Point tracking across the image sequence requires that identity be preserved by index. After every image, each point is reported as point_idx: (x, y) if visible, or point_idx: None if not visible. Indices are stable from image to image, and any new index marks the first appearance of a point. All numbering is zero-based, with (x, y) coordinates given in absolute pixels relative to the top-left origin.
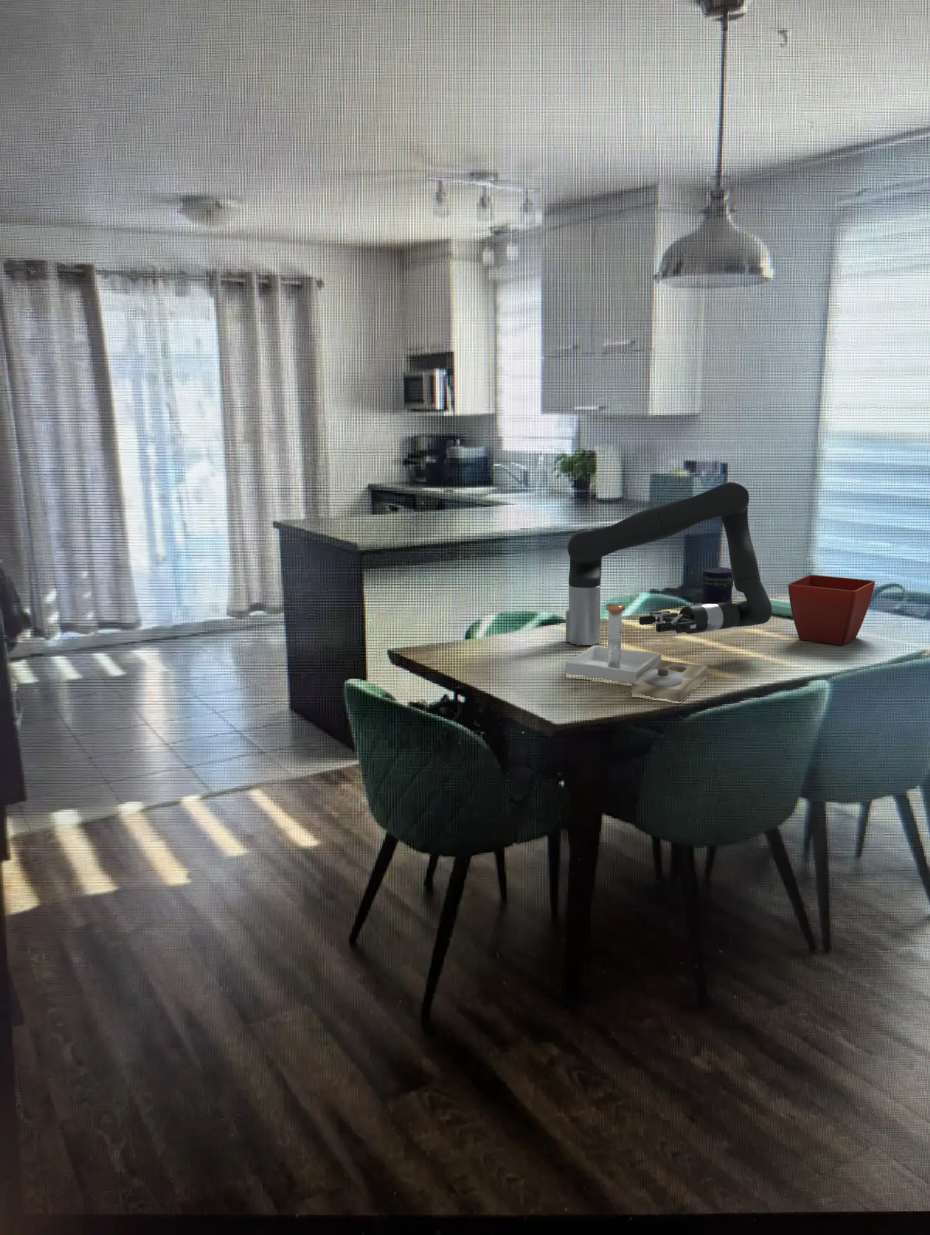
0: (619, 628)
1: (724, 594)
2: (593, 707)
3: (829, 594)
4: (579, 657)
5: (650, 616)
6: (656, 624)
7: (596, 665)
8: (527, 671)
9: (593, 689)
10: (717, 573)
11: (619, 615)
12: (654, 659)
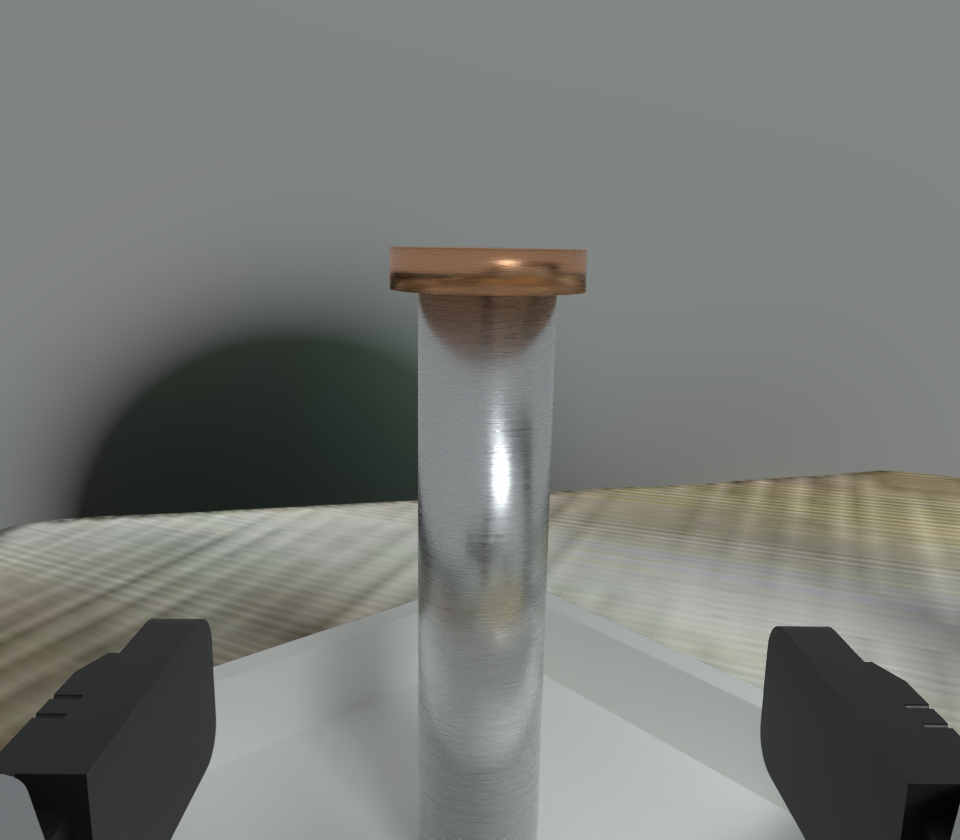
0: (418, 480)
1: None
2: (24, 609)
3: None
4: (602, 637)
5: (874, 751)
6: (198, 622)
7: (627, 793)
8: (667, 595)
9: None
10: None
11: (419, 344)
12: None
